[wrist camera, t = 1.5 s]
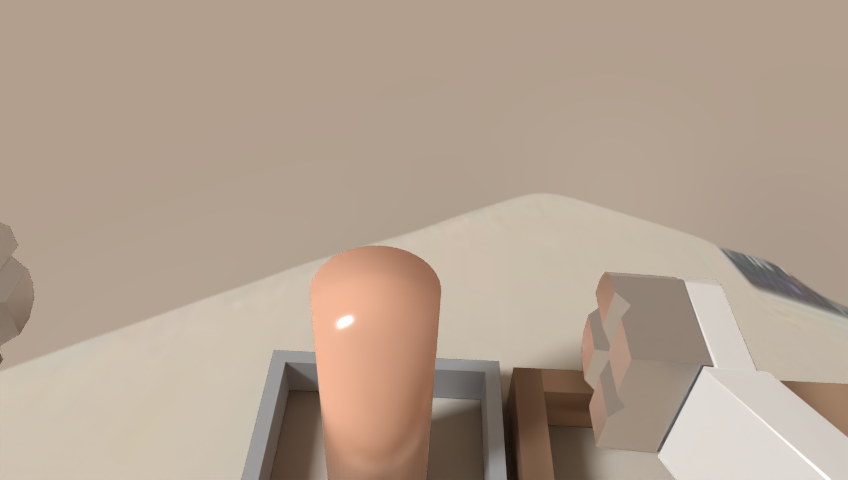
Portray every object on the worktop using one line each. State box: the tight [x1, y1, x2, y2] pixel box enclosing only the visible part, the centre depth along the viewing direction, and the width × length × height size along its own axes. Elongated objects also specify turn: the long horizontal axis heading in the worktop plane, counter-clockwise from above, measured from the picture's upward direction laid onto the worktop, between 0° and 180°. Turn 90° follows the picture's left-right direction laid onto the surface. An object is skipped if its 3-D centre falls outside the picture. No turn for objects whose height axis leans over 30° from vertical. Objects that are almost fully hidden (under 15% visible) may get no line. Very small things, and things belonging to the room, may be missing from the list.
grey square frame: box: [241, 350, 507, 480], centre depth 35 cm, size 13×13×2 cm
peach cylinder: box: [310, 246, 441, 480], centre depth 31 cm, size 5×5×14 cm
